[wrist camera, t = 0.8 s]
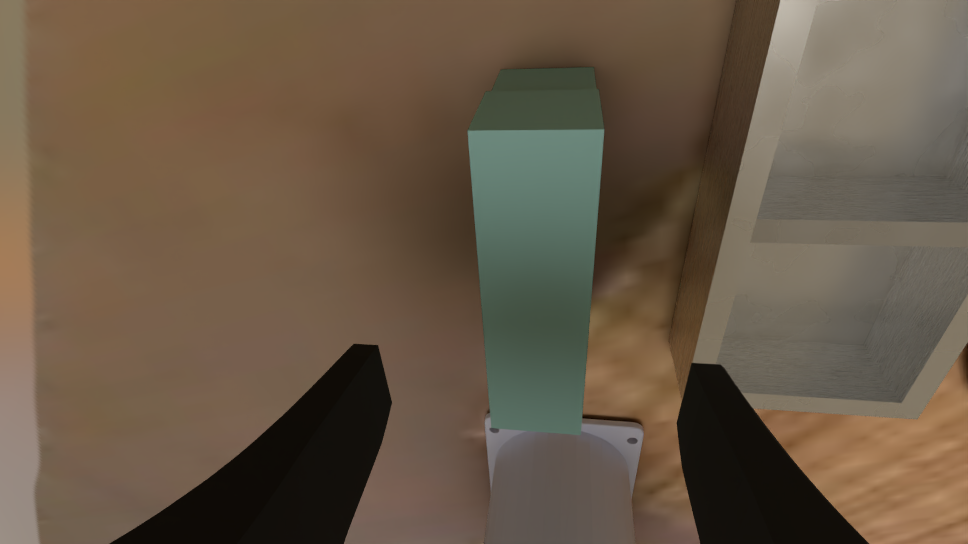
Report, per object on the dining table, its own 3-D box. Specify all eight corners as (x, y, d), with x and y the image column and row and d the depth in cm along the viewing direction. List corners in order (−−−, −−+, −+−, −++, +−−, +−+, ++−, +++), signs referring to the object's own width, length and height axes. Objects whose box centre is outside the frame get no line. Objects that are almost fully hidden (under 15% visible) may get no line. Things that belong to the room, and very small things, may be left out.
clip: (578, 310, 22) (580, 435, 17) (510, 307, 23) (491, 427, 17) (594, 57, 16) (604, 129, 11) (500, 59, 17) (467, 130, 12)
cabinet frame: (871, 351, 21) (917, 419, 19) (668, 341, 23) (682, 403, 20) (1109, -110, 12) (1264, -114, 10) (753, -86, 14) (800, -84, 11)
